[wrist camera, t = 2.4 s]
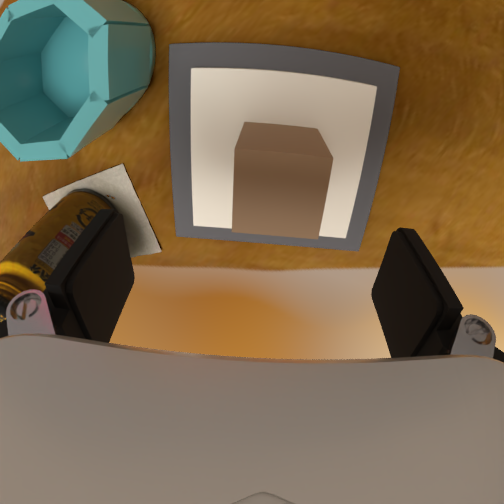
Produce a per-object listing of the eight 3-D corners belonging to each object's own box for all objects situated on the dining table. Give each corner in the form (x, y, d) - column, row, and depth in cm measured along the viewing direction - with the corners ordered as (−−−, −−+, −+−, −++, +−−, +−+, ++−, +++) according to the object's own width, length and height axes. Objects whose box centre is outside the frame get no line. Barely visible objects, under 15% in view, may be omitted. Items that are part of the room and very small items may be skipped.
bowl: (159, -14, 12) (112, -32, 7) (156, 123, 18) (113, 157, 13) (39, 14, 12) (-22, 21, 8) (45, 130, 18) (-8, 164, 13)
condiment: (43, 195, 21) (-51, 296, 11) (123, 162, 19) (15, 280, 10) (83, 265, 25) (19, 375, 15) (163, 249, 23) (106, 386, 14)
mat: (396, 66, 14) (399, 67, 14) (357, 247, 22) (358, 251, 22) (171, 44, 15) (169, 44, 14) (177, 232, 22) (176, 236, 22)
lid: (372, 85, 15) (413, 102, 10) (343, 231, 21) (361, 290, 16) (194, 67, 15) (160, 76, 10) (196, 219, 21) (174, 275, 16)
